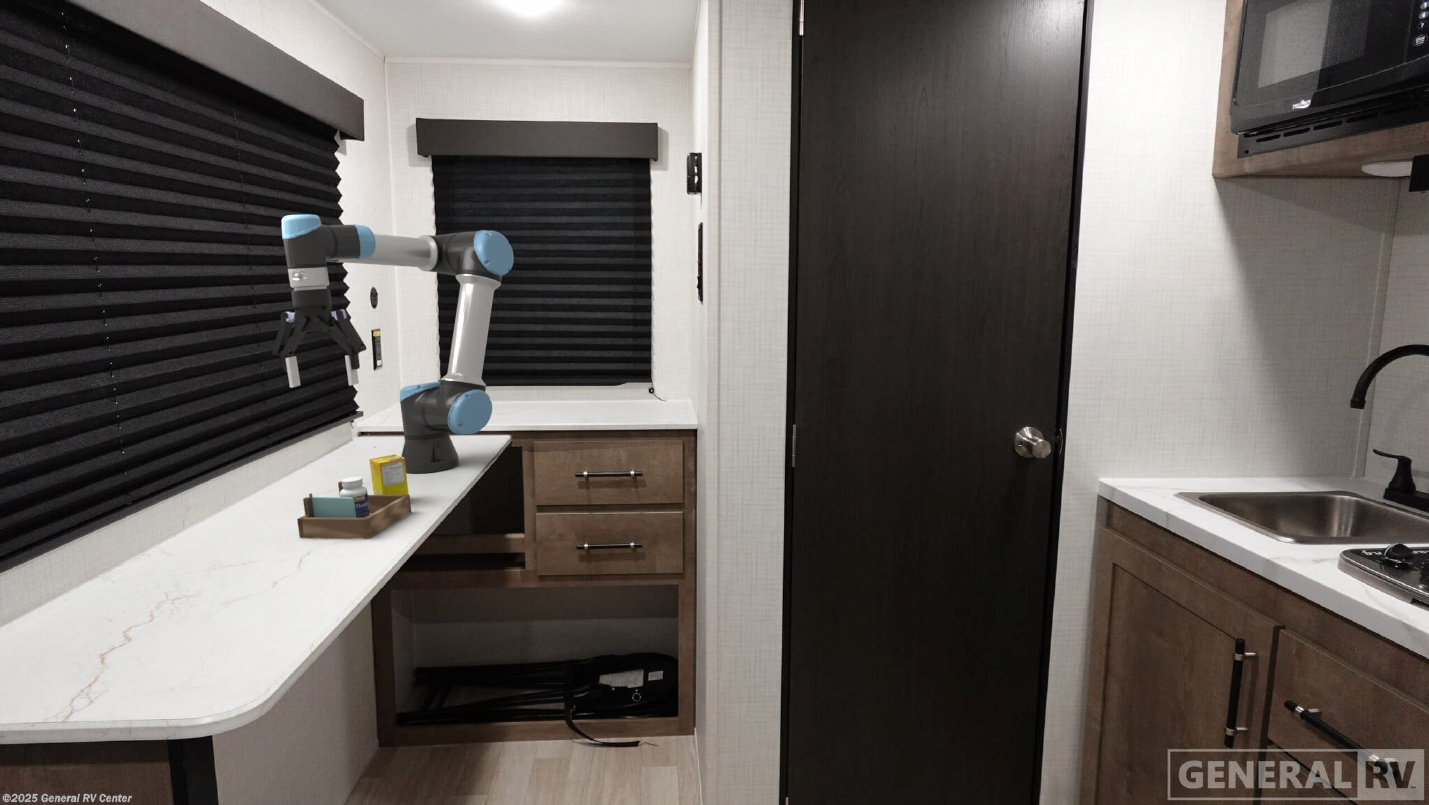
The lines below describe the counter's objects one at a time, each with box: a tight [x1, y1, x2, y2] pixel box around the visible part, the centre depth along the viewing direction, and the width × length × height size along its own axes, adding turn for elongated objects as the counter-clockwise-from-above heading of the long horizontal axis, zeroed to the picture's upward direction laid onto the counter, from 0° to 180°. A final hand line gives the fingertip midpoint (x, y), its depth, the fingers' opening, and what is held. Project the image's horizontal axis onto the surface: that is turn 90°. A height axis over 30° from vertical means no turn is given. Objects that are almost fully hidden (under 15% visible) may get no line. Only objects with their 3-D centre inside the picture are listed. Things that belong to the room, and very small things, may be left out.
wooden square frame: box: [296, 480, 412, 540], centre depth 165 cm, size 17×15×8 cm
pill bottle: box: [339, 476, 371, 518], centre depth 166 cm, size 5×5×10 cm
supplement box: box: [369, 454, 410, 495], centre depth 179 cm, size 6×6×11 cm
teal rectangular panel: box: [312, 496, 356, 518], centre depth 161 cm, size 9×1×7 cm, turn 79°
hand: (324, 385), depth 172 cm, fingers open, 13 cm apart
